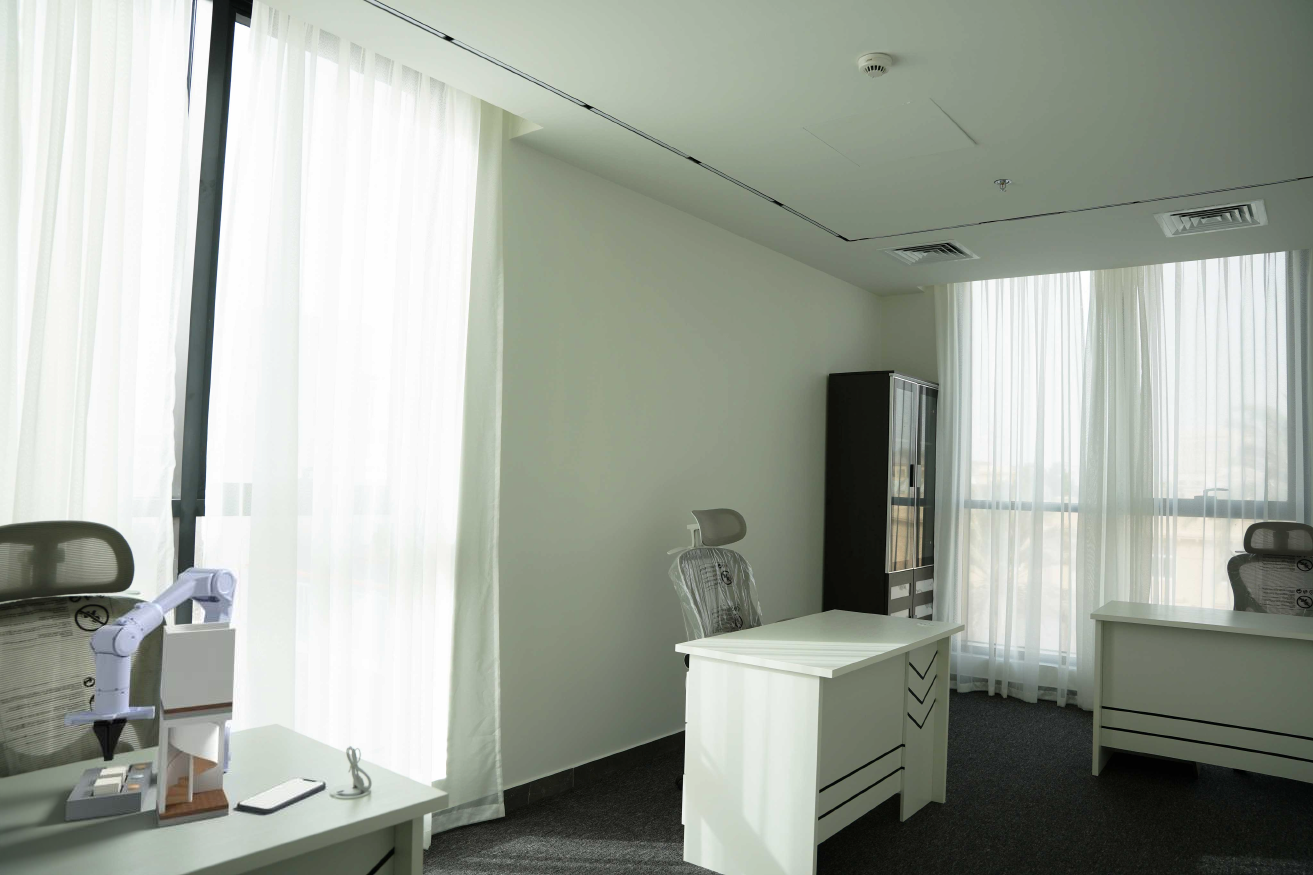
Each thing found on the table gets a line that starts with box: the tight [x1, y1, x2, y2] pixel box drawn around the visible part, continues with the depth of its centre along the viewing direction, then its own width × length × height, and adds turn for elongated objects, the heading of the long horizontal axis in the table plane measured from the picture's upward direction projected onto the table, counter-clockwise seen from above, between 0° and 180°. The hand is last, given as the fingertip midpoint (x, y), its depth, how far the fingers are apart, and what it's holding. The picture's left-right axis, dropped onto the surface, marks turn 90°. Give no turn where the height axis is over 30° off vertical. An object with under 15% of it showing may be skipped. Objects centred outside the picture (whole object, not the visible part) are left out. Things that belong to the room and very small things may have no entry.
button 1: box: [93, 777, 122, 796], centre depth 164 cm, size 4×4×3 cm
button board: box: [65, 761, 153, 822], centre depth 170 cm, size 12×20×4 cm, turn 25°
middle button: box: [99, 767, 126, 783], centre depth 170 cm, size 4×4×3 cm
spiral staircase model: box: [155, 621, 237, 828], centre depth 164 cm, size 11×11×35 cm
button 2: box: [106, 763, 131, 773], centre depth 176 cm, size 4×4×3 cm
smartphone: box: [236, 777, 327, 816], centre depth 171 cm, size 9×2×16 cm
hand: (108, 759), depth 164 cm, fingers closed
